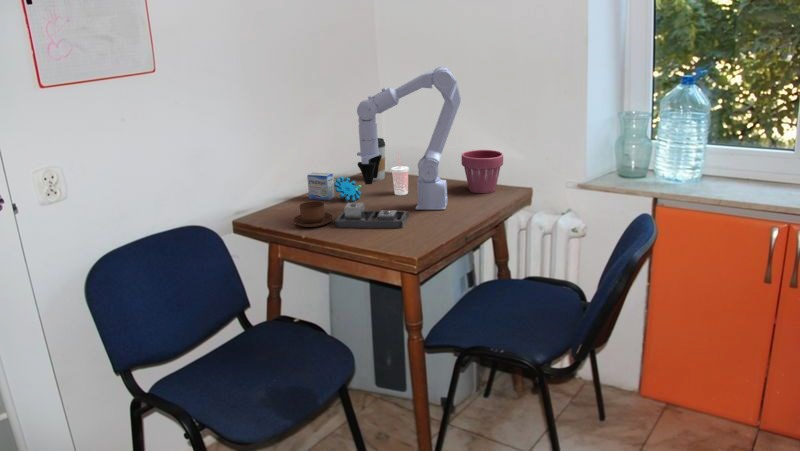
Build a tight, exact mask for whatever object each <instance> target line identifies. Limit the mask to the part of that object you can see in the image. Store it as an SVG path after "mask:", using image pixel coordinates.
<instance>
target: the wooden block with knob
mask: <svg viewBox="0 0 800 451" xmlns="http://www.w3.org/2000/svg"><path fill="white" fill-rule="evenodd" d="M379 211H380V212H379V214H378V218H377V221H398V218H397V211H398V210H391V209H389V210H388V209H386V210H382V209H381V210H379Z"/></svg>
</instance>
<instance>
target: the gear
mask: <svg viewBox="0 0 800 451" xmlns="http://www.w3.org/2000/svg"><path fill="white" fill-rule="evenodd" d="M344 180H345V181H344ZM350 181H351V178H350V177H346V178H345V177H344V176H340V178H336V179H335V183H333V184H334V188H335V193H339V198H340V199H342V200H343V198H344V197H345V196H346V197H345V199H344V200H345V201H346V202H348V201H349V200H350V201H351V202H356V200H359V199H360V198H361V197H360V195H361V194H362V192H361V190H360V189H361V187H362V185H361V184H358V185H356V183H357V182H356V181H355V180H352V181H351V182H350ZM350 197H351V199H350Z"/></svg>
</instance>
